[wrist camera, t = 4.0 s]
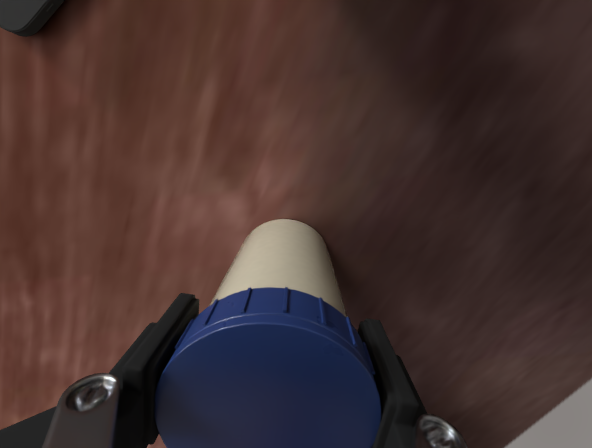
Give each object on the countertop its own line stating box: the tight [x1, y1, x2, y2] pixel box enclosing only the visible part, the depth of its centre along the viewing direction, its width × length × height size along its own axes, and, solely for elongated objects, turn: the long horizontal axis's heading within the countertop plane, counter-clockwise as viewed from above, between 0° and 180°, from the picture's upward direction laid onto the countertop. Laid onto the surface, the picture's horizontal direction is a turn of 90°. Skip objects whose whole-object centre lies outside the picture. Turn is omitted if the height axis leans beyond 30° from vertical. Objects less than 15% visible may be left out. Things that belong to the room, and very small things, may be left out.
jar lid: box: [154, 287, 381, 448], centre depth 9 cm, size 7×7×2 cm
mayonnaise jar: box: [209, 219, 348, 317], centre depth 14 cm, size 6×6×11 cm
